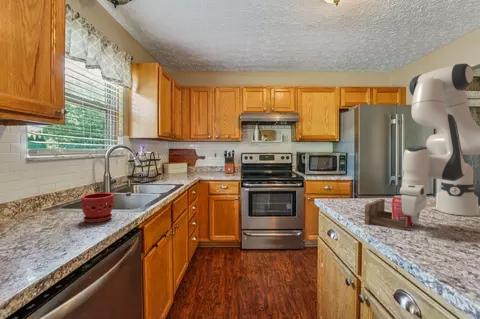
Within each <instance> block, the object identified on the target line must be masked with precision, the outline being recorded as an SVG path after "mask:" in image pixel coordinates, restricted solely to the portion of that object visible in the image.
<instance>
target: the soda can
mask: <svg viewBox="0 0 480 319" xmlns="http://www.w3.org/2000/svg"><path fill="white" fill-rule="evenodd" d="M401 198H402V194H395V195H393V198H392V200H391V212H392V219H393V220H398V221H403V222H405V228H409V227H411V226H413V224H412V222H411V216H410V215H404V214H403V211H402V199H401Z"/></svg>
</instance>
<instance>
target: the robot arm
mask: <svg viewBox="0 0 480 319" xmlns="http://www.w3.org/2000/svg"><path fill="white" fill-rule="evenodd" d="M473 80H474V72H473V69H472V66H470V65H469V64H468V63H457V64H455V65H450V66H443V67H440V68H437V69H434V70H431V71H428V72H425V73H422V74H421V73H420V74H418V75H415V76H414V77H413V78H411V80H410V82H409V86H408V87H409V88H408V89H409V92H410V94H411V95H412V100H411V109H410V110H411V118H412V120H413V121H414V122H415V123H417V124H418V125H421V126H423V127H427V128H431V129H435V130H438V131H441V132H439V133H435V134H430V136H428V137H427V139H426V142H425V145H426V146H422V145H421V146H420V145H419V146H418V145H417V146H409V147H407V148H405V150H404V152H403V157H402V172H403V175H402V179H401V180H402V181H401V186H400V189H399V195H402V198H401V199H402V211H403V214H404V215H410V216H411V222H412V223H413V224H417V223H419V222H420V214H421V211H423V210H424V209H426V208H427V205H428V203H427V194H430V193H431V179H434V180H435V179H436V180H441V182H440V191H438V192H437V193H436V204H435V205H433V206H432V207H431V209H432V210H436V211H438V212H441V213H445V214H449V215H454V216H455V215H456V216H466V217H467V216H468V217H470V216H472V217H473V216H474V217H475V216H477V217H478V216H479V217H480V204H479V197H478V196H477V195H476V194H475V193H474V192H475V188H476V187H475V184H474V168H473V167H472V166H471V165H470V164H468V163H467V162H465V159H464V157H463V155H469V156H470V155H474V156H476V155H480V126H479V125H478V124H477V123H476V121H475V120H474V118H473V117H472V115H471V111H470V106H469V101H468V95H467V92H466V89H468V87H470V85H471V84H472V83H473ZM430 153H431V154H430Z"/></svg>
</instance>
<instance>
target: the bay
mask: <svg viewBox="0 0 480 319" xmlns="http://www.w3.org/2000/svg"><path fill="white" fill-rule="evenodd" d="M385 202H386V200H385V199H384V198H380V199H377V200H374V201H370V202H369V203H367V204H365V205H364V224H365V225H371V224H372V225H378V226H382V227H387V228H392V229H396V230H399V231H400V230H401V231H405V230H406V227H405V222H403V221H398V220H393V219H392V211H386V210H385V208H386V207H385V204H386V203H385ZM413 224H414V223H412V225H413Z"/></svg>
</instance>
